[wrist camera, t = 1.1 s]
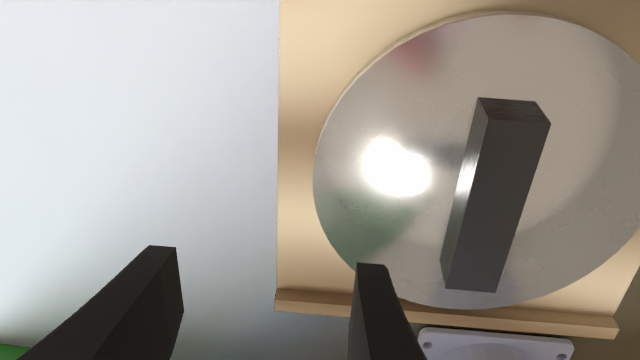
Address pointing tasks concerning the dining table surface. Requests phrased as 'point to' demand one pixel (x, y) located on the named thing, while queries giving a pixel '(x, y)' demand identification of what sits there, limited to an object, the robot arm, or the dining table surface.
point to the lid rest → (310, 114)
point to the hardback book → (11, 351)
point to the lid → (484, 159)
